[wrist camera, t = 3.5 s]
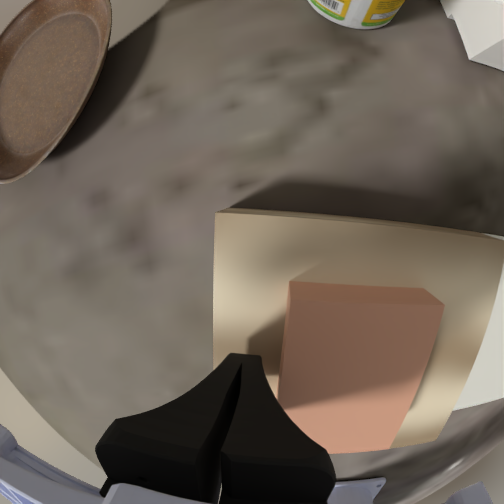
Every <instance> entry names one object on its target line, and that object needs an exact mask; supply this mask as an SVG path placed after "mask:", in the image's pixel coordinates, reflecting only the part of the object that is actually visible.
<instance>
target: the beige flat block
mask: <svg viewBox="0 0 504 504" xmlns="http://www.w3.org/2000/svg"><path fill="white" fill-rule="evenodd" d="M503 263H504V240H501V239H498V238H495V237H491V236H488V235H485V234H481V233H478V232H473V231H466V230H459V229H452V228H445V227H438V226H430V225H423V224H415V223H406V222H398V221H389V220H380V219H371V218H361V217H351V216H340V215H329V214H317V213H305V212H292V211H278V210H262V209H246V208H226V209H224V210H221V211H218V212H215V241H214V289H213V370H214V369H216V367H217V366H218V365H219V364H220V363H221V362H222V361H223V360H224V359H225V358H226V356H227V355H228V354H229V353H240V354H250V355H260V356H261V357H262V365H263V369H264V372H265V375H266V378H267V380H268V383H269V385H270V387H271V389H272V391H273V393H274V395H275V397H276V392H277V385H278V377H279V369H280V361H281V352H282V344H283V335H284V326H285V316H286V307H287V296H288V286H289V281H297V282H312V283H328V284H345V285H363V286H383V287H406V288H424V289H425V290H427V291H428V292H429V293H431V294H432V295H433V296H434V297H436V298H437V299H438V300H440V301H441V302H442V303H443V304H445V307H444V311H443V315H442V318H441V322H440V326H439V329H438V332H437V336H436V339H435V342H434V345H433V348H432V351H431V354H430V357H429V360H428V363H427V366H426V368H425V371H424V374H423V376H422V379H421V382H420V384H419V387H418V389H417V391H416V394H415V396H414V399H413V401H412V403H411V405H410V408H409V410H408V412H407V414H406V416H405V419H404V421H403V423H402V425H401V427H400V429H399V431H398V433H397V435H396V437H395V439H394V441H393V442H392V444H391V446H390V448H397V447H403V446H410V445H415V444H421V443H426V442H431V441H435V440H436V439H437V437H438V435H439V434H440V432H441V430H442V429H443V427H444V425H445V423H446V421H447V420H448V418H449V416H450V414H451V412H452V410H453V408H454V406H455V404H456V402H457V400H458V398H459V396H460V394H461V392H462V390H463V388H464V386H465V384H466V381H467V379H468V377H469V374H470V372H471V370H472V367H473V365H474V362H475V360H476V357H477V355H478V352H479V349H480V347H481V344H482V341H483V338H484V335H485V332H486V329H487V326H488V323H489V320H490V317H491V313H492V310H493V306H494V303H495V299H496V295H497V291H498V287H499V282H500V278H501V273H502V268H503ZM390 448H389V449H390Z"/></svg>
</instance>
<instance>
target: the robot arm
mask: <svg viewBox="0 0 504 504" xmlns="http://www.w3.org/2000/svg"><path fill="white" fill-rule="evenodd" d="M95 452H96V455H97V458H98V460H99V462H100V464H101V465H102V467H103V469H104V471H105V473H106V475H107V477H108V478H107V480H106V481H105V483H104V485H103V487H102V488H101V489H99V488H97V487H94V486H92V485H90V484H88V483H86V482H83V481H81V480H79V479H77V478H75V477H73V476H71V475H69V474H67V473H65V472H63V471H61V470H59V469H57V468H55V467H54V466H52V465H50V464H48V463H47V462H45V461H43V460H41V459H40V458H38V457H37V456H35V455H33V454H32V453H30V452H28V451H27V450H25V449H24V448H22V447H21V446H19V445H18V443H17V441H16V439H15V438H14V436H13V435H12V434H11V432H10V431H9V430H7V428H5V427H4V426H2V425H1V424H0V493H1V494H2V495H3V496H5V497H6V498H7V499H8V500H9V501H11V502H12V503H13V504H218V500H219V494H220V488H221V483H222V492H221V496H220V501H219V504H373V499H374V498H375V496H376V495H377V494H378V492H379V491H380V490H381V488H382V487H383V485H384V484H385V483H386V478H384V477H381V478H374V479H366V480H357V481H345V482H336V474H335V470H334V467H333V464H332V461H331V459H330V456H329V454H328V452H327V450H326V449H325V448H323V447H322V446H321V445H319V444H318V443H316V442H315V441H313V440H312V439H311V438H310V437H308V436H307V435H306V434H305V433H304V432H303V431H302V430H301V429H300V428H299V427H298V426H297V425H296V424H295V423H294V422H293V421H292V420H291V419H290V417H289V416H288V415H287V413H286V412H285V411H284V409H283V408H282V407H281V405H280V404H279V402H278V400H277V399H276V397H275V395H274V393H273V391H272V389H271V387H270V385H269V383H268V380H267V378H266V375H265V372H264V369H263V365H262V357H261V356H260V355H250V354H240V353H229V354H228V355H227V356H226V358H225V359H224V360H223V361H222V362H221V363H220V364H219V365H218V366H217V367H216V369H214V370H213V371H212V372H211V373H210V374H209V375H208V376H207V377H206V378H205V379H204V380H202V381H201V382H200V383H199V384H198V385H196V386H195V387H194V388H192V389H191V390H190V391H188V392H187V393H185V394H183V395H182V396H180V397H179V398H177V399H175V400H173V401H171V402H169V403H167V404H165V405H163V406H160V407H158V408H155V409H153V410H150V411H147V412H144V413H140V414H137V415H132V416H128V417H124V418H118V419H115V420H114V422H113V423H112V424H111V425H110V426H109V427H108V429H107V430H106V431H105V433H104V434H103V436H102V437H101V439H100V440H99V442H98V443H97V445H96V448H95ZM443 504H493V502H492V500H491V498H490V496H489V494H488V492H487V490H486V488H485V486H484V484H483V482H482V481H480V482H477V483H475V484H473V485H470V486H468V487H465V488H462V489H460V490H458V491H456V492H455V493H453V494H452V495H451V496H450V497H449V498H448V499H447V501H446V502H445V503H443Z"/></svg>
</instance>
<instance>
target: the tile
mask: <svg viewBox="0 0 504 504" xmlns="http://www.w3.org/2000/svg"><path fill="white" fill-rule="evenodd" d="M444 307H445V304H443V303H442V302H441V301H440V300H438V299H437V298H436V297H434V296H433V295H432V294H431V293H429V292H428V291H427V290H425V289H424V288H406V287H383V286H363V285H345V284H328V283H312V282H297V281H289V286H288V296H287V307H286V316H285V326H284V335H283V344H282V352H281V361H280V369H279V377H278V385H277V392H276V399H277V400H278V402H279V404H280V405H281V407H282V408H283V409H284V411H285V412H286V413H287V415H288V416H289V417H290V419H291V420H292V421H293V422H294V423H295V424H296V425H297V426H298V427H299V428H300V429H301V430H302V431H303V432H304V433H305V434H306V435H307V436H308V437H310V438H311V439H312V440H313V441H315V442H316V443H318V444H319V445H321V446H322V447H323V448H325V449H326V450H327V452H328V454H334V453H353V452H365V451H375V450H384V449H389V448H390V446H391V444H392V442H393V441H394V439H395V437H396V435H397V433H398V431H399V429H400V427H401V425H402V423H403V421H404V419H405V416H406V414H407V412H408V410H409V408H410V405H411V403H412V401H413V399H414V396H415V394H416V391H417V389H418V387H419V384H420V382H421V379H422V376H423V374H424V371H425V368H426V366H427V363H428V360H429V357H430V354H431V351H432V348H433V345H434V342H435V339H436V336H437V332H438V329H439V326H440V322H441V318H442V315H443V311H444Z"/></svg>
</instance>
